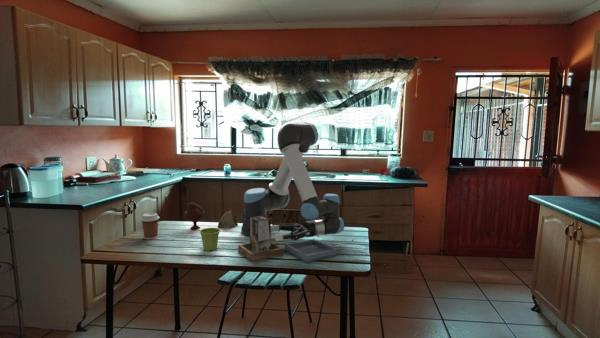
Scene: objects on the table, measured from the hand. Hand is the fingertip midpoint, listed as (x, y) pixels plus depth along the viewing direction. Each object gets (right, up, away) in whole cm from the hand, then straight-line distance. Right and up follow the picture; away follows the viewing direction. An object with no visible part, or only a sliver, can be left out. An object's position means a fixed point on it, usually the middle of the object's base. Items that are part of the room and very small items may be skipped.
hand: (270, 233), depth 162 cm
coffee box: (-4, -9, 0) cm, 10 cm away
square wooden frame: (-4, -9, 0) cm, 10 cm away
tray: (+18, -9, 0) cm, 20 cm away
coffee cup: (-63, -6, +23) cm, 67 cm away
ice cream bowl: (-45, -4, +39) cm, 60 cm away
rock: (-28, -4, +44) cm, 52 cm away
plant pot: (-28, -8, +6) cm, 30 cm away
